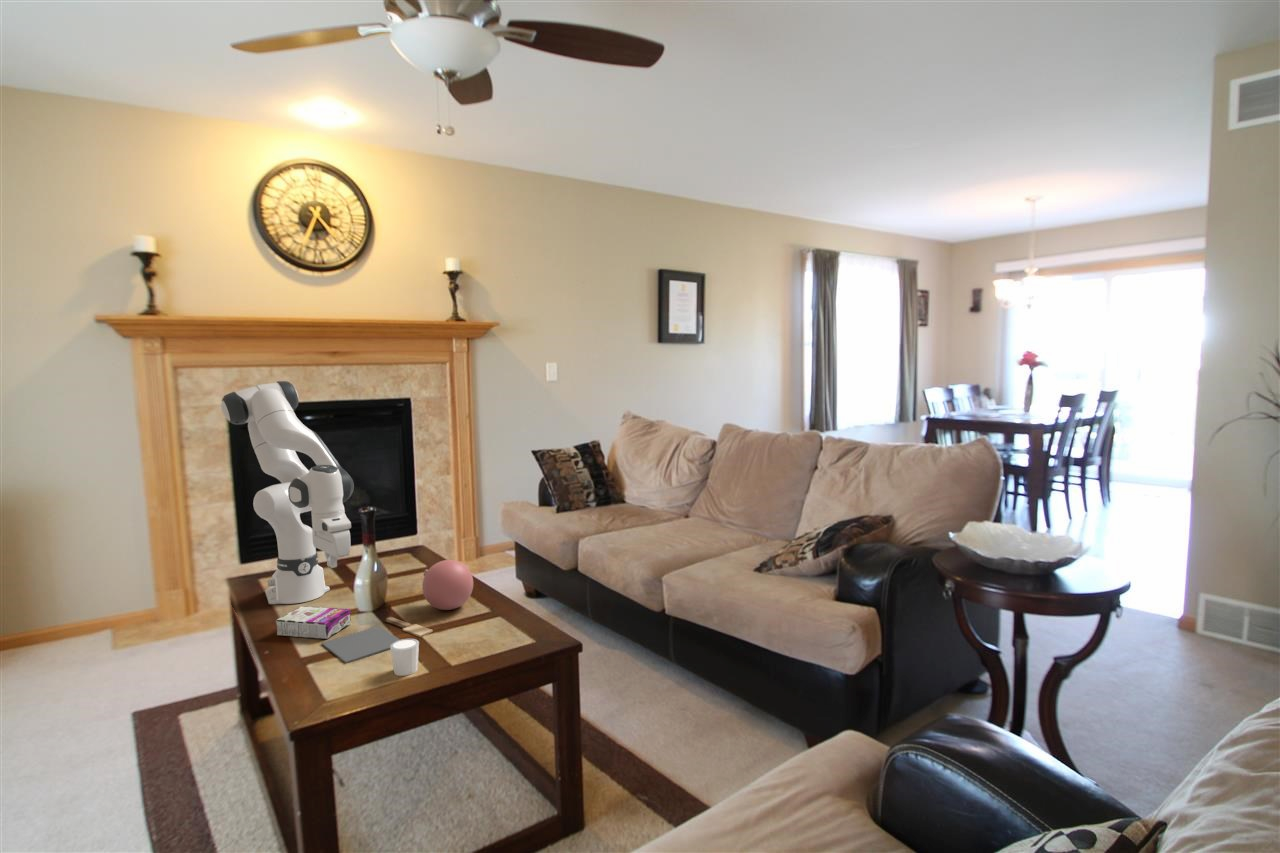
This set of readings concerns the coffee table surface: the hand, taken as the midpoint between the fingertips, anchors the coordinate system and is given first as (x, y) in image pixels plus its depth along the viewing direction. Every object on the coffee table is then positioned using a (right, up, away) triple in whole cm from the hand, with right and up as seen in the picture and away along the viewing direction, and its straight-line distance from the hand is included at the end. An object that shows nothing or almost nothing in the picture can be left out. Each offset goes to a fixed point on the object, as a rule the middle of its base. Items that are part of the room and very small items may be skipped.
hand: (332, 566), depth 195 cm
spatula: (+23, -18, -2) cm, 29 cm away
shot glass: (+32, -20, -28) cm, 47 cm away
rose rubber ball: (+29, -16, +15) cm, 36 cm away
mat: (+14, -19, -12) cm, 27 cm away
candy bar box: (+4, -16, -4) cm, 17 cm away
